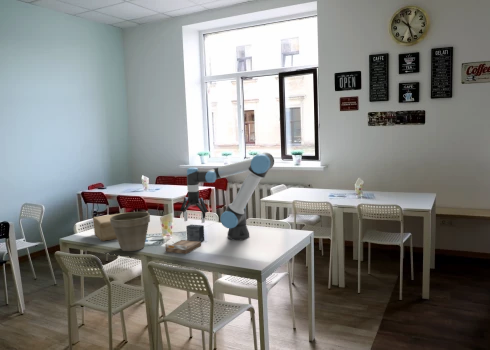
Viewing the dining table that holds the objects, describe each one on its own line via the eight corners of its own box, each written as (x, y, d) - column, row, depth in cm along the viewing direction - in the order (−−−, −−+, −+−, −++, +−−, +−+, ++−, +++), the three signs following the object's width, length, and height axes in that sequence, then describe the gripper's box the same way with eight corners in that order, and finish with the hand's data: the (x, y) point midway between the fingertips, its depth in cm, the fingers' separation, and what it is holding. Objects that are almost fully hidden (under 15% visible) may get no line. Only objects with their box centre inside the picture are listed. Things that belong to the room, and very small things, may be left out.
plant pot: (105, 249, 269) (102, 216, 266) (137, 240, 287) (135, 209, 284) (126, 256, 252) (123, 221, 249) (159, 246, 270) (157, 214, 268)
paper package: (129, 228, 322) (127, 211, 321) (139, 235, 301) (138, 216, 299) (93, 234, 308) (91, 216, 307) (101, 242, 287) (99, 222, 285)
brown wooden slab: (201, 245, 270) (200, 238, 269) (185, 254, 253) (185, 246, 253) (181, 243, 276) (181, 236, 275) (165, 251, 259) (164, 244, 259)
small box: (205, 240, 282) (204, 225, 281) (200, 242, 276) (199, 227, 275) (191, 238, 287) (191, 223, 285) (186, 241, 281) (185, 226, 280)
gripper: (212, 190, 275) (213, 222, 278) (180, 189, 286) (181, 219, 289) (206, 192, 269) (207, 224, 271) (174, 190, 279) (175, 221, 282)
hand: (194, 221), depth 280 cm, fingers open, 13 cm apart
